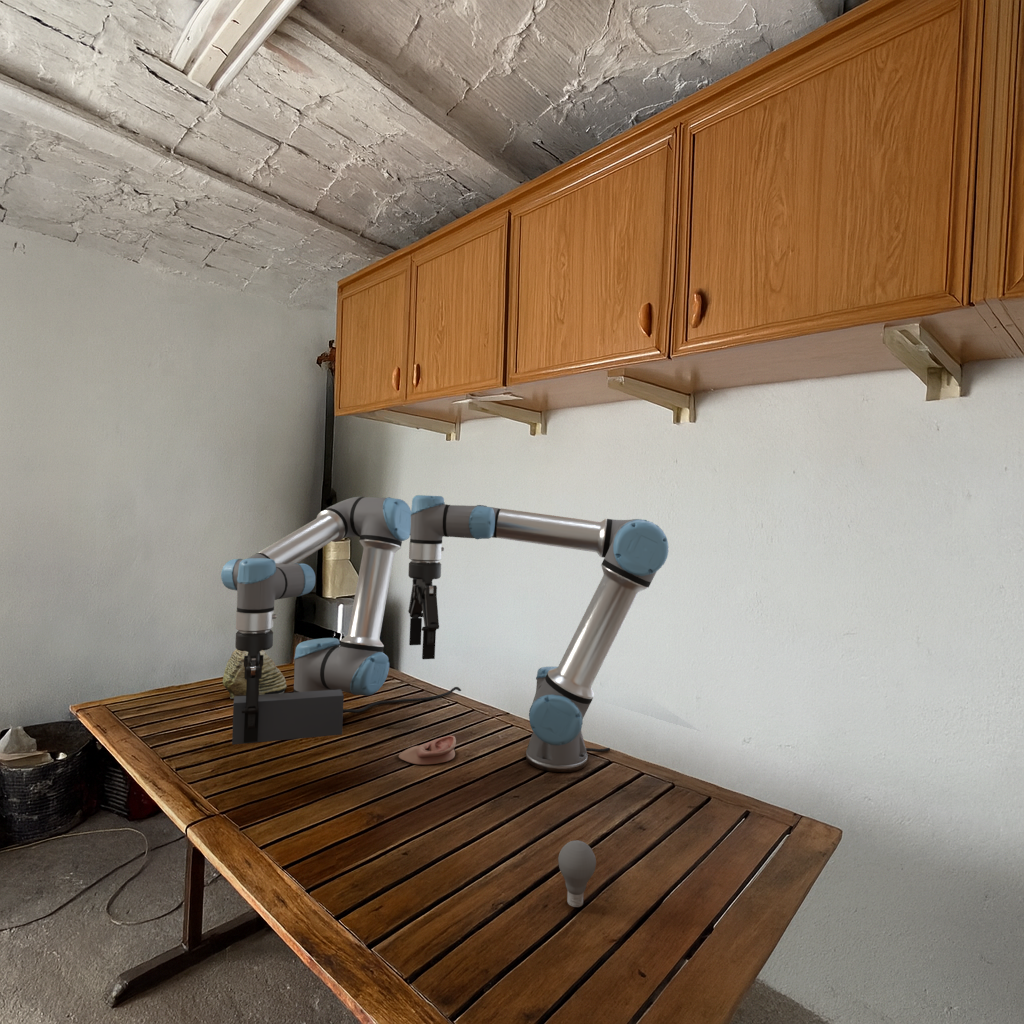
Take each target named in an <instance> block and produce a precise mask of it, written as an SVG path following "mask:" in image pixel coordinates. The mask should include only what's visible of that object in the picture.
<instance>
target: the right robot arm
mask: <svg viewBox="0 0 1024 1024" xmlns="http://www.w3.org/2000/svg"><path fill="white" fill-rule="evenodd" d="M410 510H411V514H410V516H411V528H410V537H409V547H408V548H409V549H408V550H409V551H408V559H409V560H410V561H409V562H408V577H409V578H410V579H412V587H411V592H410V598H409V599H410V600H409V605H408V610H407V612H408V614H409V619H410V620H409V621H410V622H409V644H408V645H409V646H421V645H422V648H421V649H422V651H421V652H422V654H421V659H422V660H435V658H436V639H437V636H436V635H437V630H439V629H440V623H439V622H440V621H439V620H440V619H439V610H438V597H437V595H438V593H437V592H438V587H437V585H433V580H438V579H440V578H441V576H442V563H441V562H440V561H441V560H442V552H444V550H445V548H444V547H443V538H444V537H445V538H461V539H475V540H490V539H491V538H493V539H502V540H509V541H515V542H520V543H521V542H522V543H529V544H535V545H542V546H548V547H557V548H562V549H563V548H564V549H569V550H575V551H584V552H591V553H596V554H597V555H598V556H599V557H600V558H603V560H602V562H601V564H600V567H601V569H602V572H603V576H602V577H601V580H600V581H599V583H598V585H597V587H596V590H595V592H593V593H594V594H593V595H592V598H591V600H590V602H589V604H588V606H587V608H586V610H585V612H584V614H583V616H582V618H581V620H580V622H579V623H578V626H577V628H576V629H575V632H574V634H573V636H572V638H571V640H570V642H569V644H568V646H567V648H566V650H565V652H564V654H563V656H562V658H561V659H560V662H559V664H558V666H542V667H539V668H538V669H537V673H536V677H535V680H536V688H535V694H534V697H533V700H532V703H531V705H530V708H529V712H528V719H529V725H530V728H531V731H532V733H531V736H530V738H529V742H528V743H527V746H526V751H525V752H526V753H525V760H526V761H527V763H528V764H529V765H531V766H532V767H534V768H536V769H539V770H542V771H546V772H550V773H571V772H576V771H580V770H582V769H584V768H585V767H586V766H587V764H588V752H595V753H606V752H610V751H611V748H610V747H605V748H593V747H586V744H585V743H586V742H585V740H584V736H583V732H582V727H583V722H584V720H583V719H584V718H585V715H586V713H587V712H588V709H589V707H590V706H591V704H592V701H593V699H594V697H595V693H594V690H593V687H592V686H593V684H594V682H595V680H596V678H597V676H598V674H599V672H600V670H601V668H602V666H603V664H604V663H605V660H606V658H607V656H608V654H609V652H610V650H611V648H612V646H613V644H614V642H615V640H616V638H617V636H618V634H619V633H620V630H621V628H622V626H623V624H624V622H625V621H626V618H627V617H628V614H629V612H630V611H631V608H632V606H633V604H634V602H635V600H636V598H637V596H638V594H639V593H640V592H642V591H645V590H648V589H649V588H650V586H651V584H652V582H653V581H654V578H655V576H656V574H657V572H658V571H659V570H660V569H661V568H662V567H663V566H664V565H665V563H666V561H667V559H668V555H669V547H670V546H669V541H668V538H667V535H666V533H665V532H664V530H663V529H662V528H661V527H660V526H659V525H658V524H656V523H654V522H653V521H650V520H647V519H641V518H634V519H633V518H632V519H612V518H604V519H602V521H596V520H589V519H581V518H574V517H569V516H568V517H567V516H560V515H551V514H546V513H538V512H529V511H523V510H515V509H507V508H498V507H493V506H487V505H483V504H476V505H462V504H461V505H459V504H457V505H456V504H455V505H454V504H452V505H451V504H447V503H446V501H445V499H444V497H443V496H442V495H427V494H426V495H425V494H424V495H423V494H417V495H415V496H413V498H412V500H411V508H410ZM422 625H424V626H422ZM422 633H423V634H422Z"/></svg>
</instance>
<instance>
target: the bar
mask: <svg viewBox="0 0 1024 1024" xmlns="http://www.w3.org/2000/svg"><path fill="white" fill-rule="evenodd" d="M344 696H345V695H344V692H342V690H341V689H338V690H323V691H308V692H294V691H293V692H283V693H278V694H263V695H259V696H258V708H259V714H258V742H248V743H247V744H255V743H266V742H277V741H287V740H298V739H307V738H310V739H311V738H318V737H319V738H320V737H330V736H331V737H333V736H342V735H343V725H344V724H343V723H344V712H343V709H344V701H345V700H344ZM232 706H233V707H232V708H233V709H232V735H231V736H232V737H231V745H233V746H235V745H243V744H245V745H246V743H244V723H245V713H242V710H245V708H246V696H235V697H234V698H233V704H232Z"/></svg>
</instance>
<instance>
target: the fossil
mask: <svg viewBox="0 0 1024 1024" xmlns="http://www.w3.org/2000/svg"><path fill="white" fill-rule="evenodd" d="M260 655H263V658H264V659H263V666H262V677H261V678H260V679H259V695H263V694H278V693H285V691H286V689H287V687H288V686H287V680H286V678H285V676H284V674H283V673H282V672H281V669H279V668H278V667H277V665H276V663H275V662H274V660H273V659H272V658H271V657H270V656H269V655H268V654H267V653H266V652H265V650H262V651H260ZM244 656H248V652H247V651H240V650H237V649H236V648H235V650H233V651H232V653H231V656H230V657H229V659H228V660H227V663H226V666H225V668H224V671H223V675H222V676H223V677H222V685H223V687H224V688H225V690H226V691H228V693H229V698H230V699H234V697H235V696H246V684H247V680H246V679H245V678H244V675H245V667H244ZM259 665H260V664H259Z"/></svg>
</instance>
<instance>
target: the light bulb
mask: <svg viewBox="0 0 1024 1024" xmlns="http://www.w3.org/2000/svg"><path fill="white" fill-rule="evenodd" d="M557 861H558V867H559V868H558V869H559V871H560V873H561V875H562V877H563V879H564V882H565V888H566V890H567V893H566V894H567V895H566V897H567V900H566V902H567V904H568V905H569V906H571V907H573V908H580V907H582V906H583V905H584V894H585V891H586V889H587V885H588V883H589V880H591V878H592V876H593V875H594V873H595V872H596V871H595V870H596V866H597V859H596V855H595V853H594V850H593V849H592V847H590V845H589V844H588V843H586V842H584V841H582V840H578V839H577V840H576V839H575V840H570V841H569V842H567V843H566V844H564V845H563V846H562V848H561V849H560V851H559V854H558V858H557Z"/></svg>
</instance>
